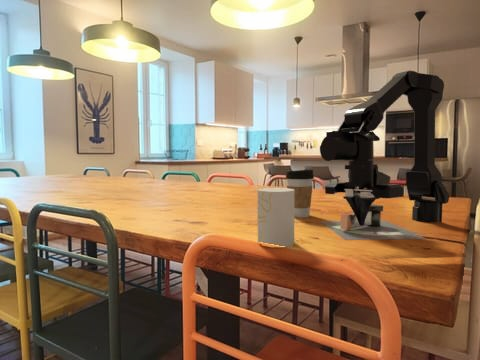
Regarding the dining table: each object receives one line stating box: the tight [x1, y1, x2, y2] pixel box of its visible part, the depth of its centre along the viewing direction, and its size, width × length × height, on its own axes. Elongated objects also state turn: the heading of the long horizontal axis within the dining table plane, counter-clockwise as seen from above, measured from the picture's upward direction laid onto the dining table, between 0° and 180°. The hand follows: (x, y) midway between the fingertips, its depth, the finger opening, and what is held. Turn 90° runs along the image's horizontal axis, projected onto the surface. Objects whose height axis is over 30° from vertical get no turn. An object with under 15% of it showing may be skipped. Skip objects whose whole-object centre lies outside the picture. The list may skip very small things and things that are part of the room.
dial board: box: [321, 220, 427, 241], centre depth 85 cm, size 18×20×1 cm
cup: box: [256, 187, 295, 248], centre depth 76 cm, size 8×8×12 cm
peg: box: [340, 203, 384, 230], centre depth 86 cm, size 15×5×5 cm, turn 126°
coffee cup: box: [285, 169, 315, 218], centre depth 104 cm, size 8×8×15 cm
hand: (361, 225), depth 83 cm, fingers closed
